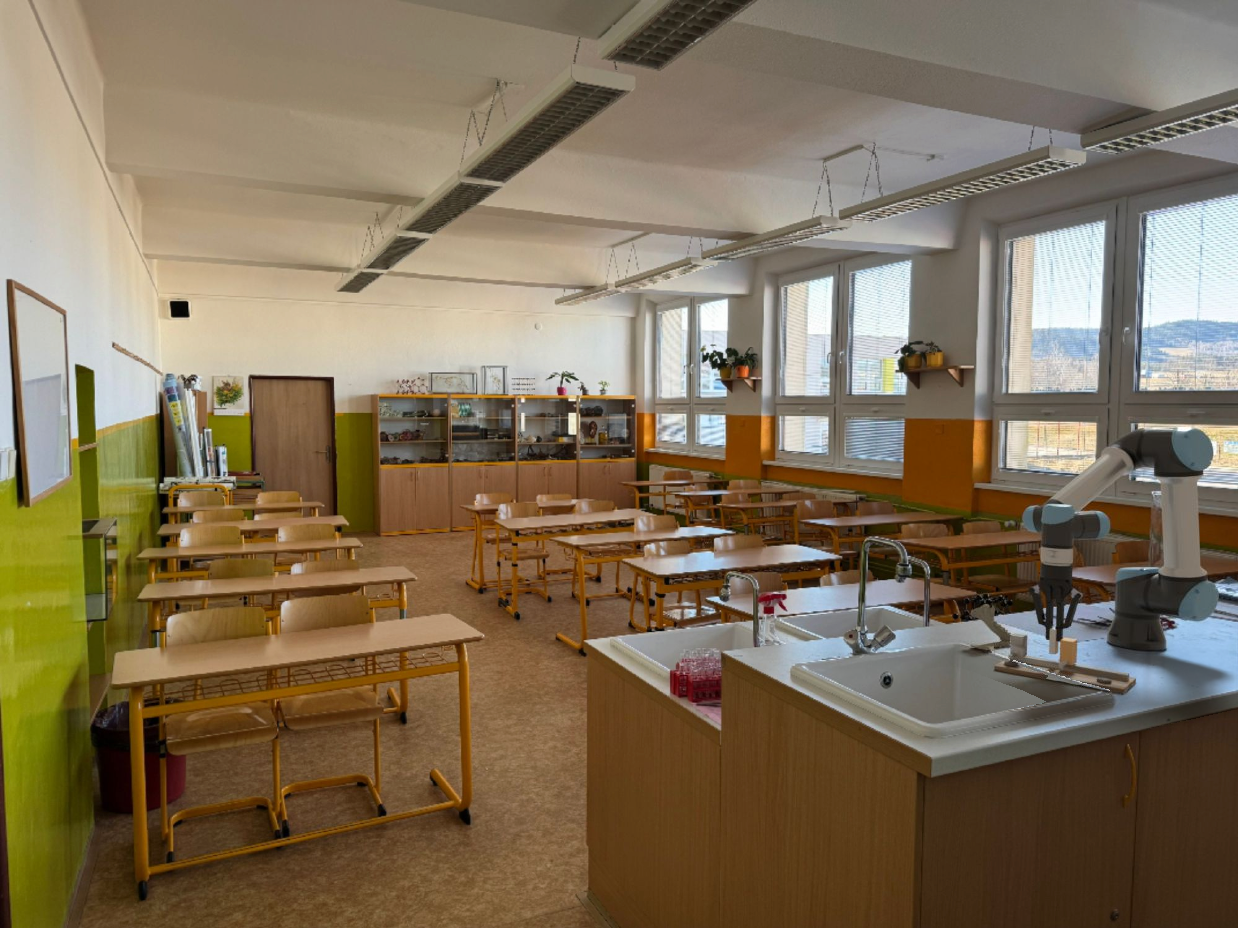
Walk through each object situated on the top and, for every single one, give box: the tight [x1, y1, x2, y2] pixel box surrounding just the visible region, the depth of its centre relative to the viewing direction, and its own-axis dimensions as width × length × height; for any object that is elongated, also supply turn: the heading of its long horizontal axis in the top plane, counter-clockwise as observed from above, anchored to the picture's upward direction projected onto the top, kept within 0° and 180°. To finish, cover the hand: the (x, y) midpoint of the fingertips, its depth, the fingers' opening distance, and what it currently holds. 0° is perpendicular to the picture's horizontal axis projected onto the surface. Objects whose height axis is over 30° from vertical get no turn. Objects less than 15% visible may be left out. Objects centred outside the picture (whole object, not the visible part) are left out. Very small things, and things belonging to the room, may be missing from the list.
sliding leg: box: [1058, 637, 1078, 670], centre depth 223 cm, size 9×3×7 cm, turn 138°
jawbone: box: [969, 603, 1012, 652], centre depth 253 cm, size 14×8×15 cm
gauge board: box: [994, 632, 1137, 695], centre depth 223 cm, size 13×30×8 cm, turn 48°
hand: (1053, 652), depth 227 cm, fingers closed
